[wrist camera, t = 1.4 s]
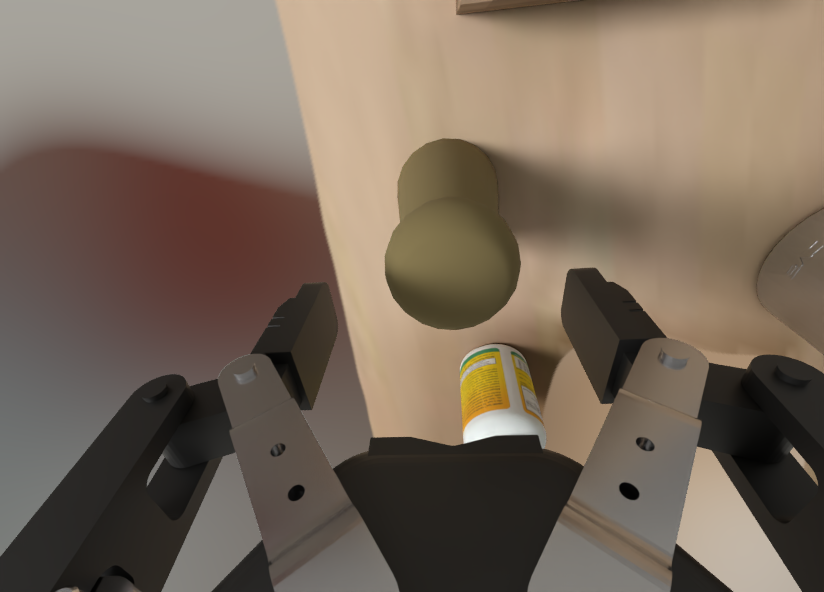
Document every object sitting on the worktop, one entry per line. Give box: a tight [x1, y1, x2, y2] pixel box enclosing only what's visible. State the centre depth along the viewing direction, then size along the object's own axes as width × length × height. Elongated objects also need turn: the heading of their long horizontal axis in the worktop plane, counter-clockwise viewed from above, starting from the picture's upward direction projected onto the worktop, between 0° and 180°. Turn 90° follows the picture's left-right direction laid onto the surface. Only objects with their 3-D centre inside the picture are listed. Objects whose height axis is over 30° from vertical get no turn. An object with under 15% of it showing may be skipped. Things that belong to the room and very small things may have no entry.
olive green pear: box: [385, 139, 521, 330], centre depth 17 cm, size 6×6×11 cm
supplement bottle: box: [460, 344, 546, 449], centre depth 26 cm, size 5×5×10 cm
